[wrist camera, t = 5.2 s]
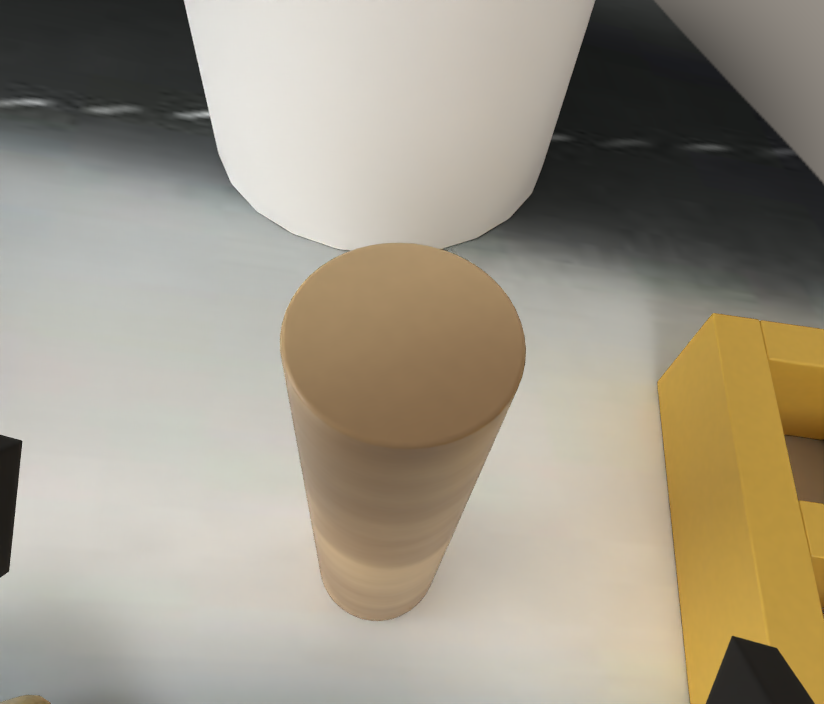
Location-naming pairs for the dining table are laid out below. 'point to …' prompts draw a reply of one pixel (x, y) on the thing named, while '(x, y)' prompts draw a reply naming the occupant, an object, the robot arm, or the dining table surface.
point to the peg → (395, 411)
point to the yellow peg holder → (745, 494)
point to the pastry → (26, 700)
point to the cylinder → (385, 110)
